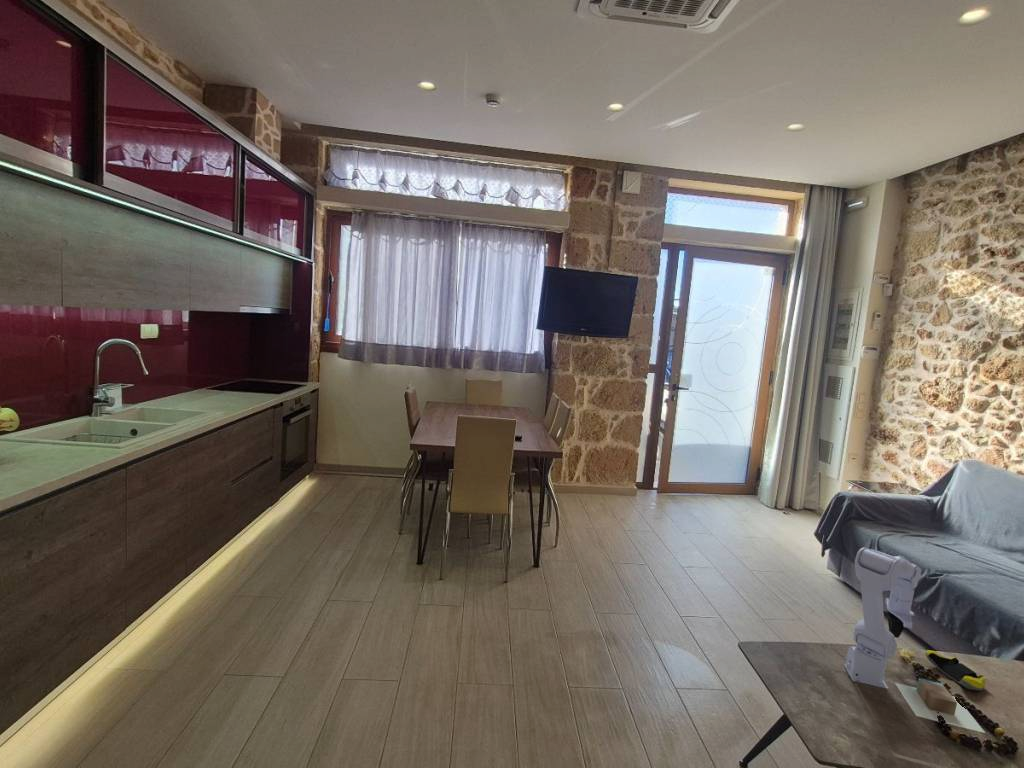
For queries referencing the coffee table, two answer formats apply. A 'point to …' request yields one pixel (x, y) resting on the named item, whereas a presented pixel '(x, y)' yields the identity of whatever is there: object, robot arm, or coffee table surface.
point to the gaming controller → (957, 671)
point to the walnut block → (936, 696)
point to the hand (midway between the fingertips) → (893, 636)
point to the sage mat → (921, 710)
